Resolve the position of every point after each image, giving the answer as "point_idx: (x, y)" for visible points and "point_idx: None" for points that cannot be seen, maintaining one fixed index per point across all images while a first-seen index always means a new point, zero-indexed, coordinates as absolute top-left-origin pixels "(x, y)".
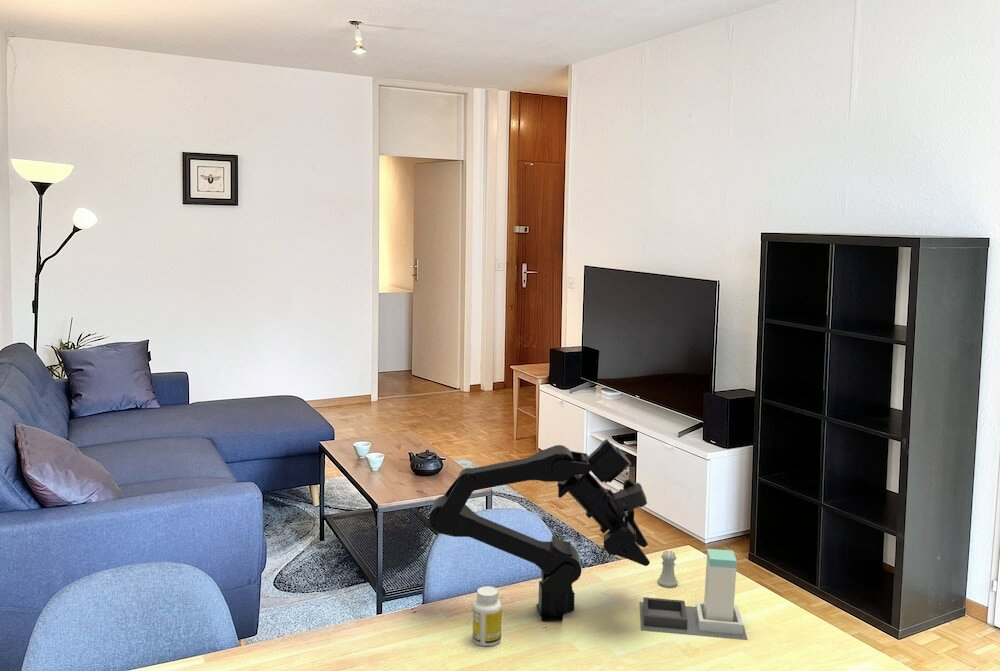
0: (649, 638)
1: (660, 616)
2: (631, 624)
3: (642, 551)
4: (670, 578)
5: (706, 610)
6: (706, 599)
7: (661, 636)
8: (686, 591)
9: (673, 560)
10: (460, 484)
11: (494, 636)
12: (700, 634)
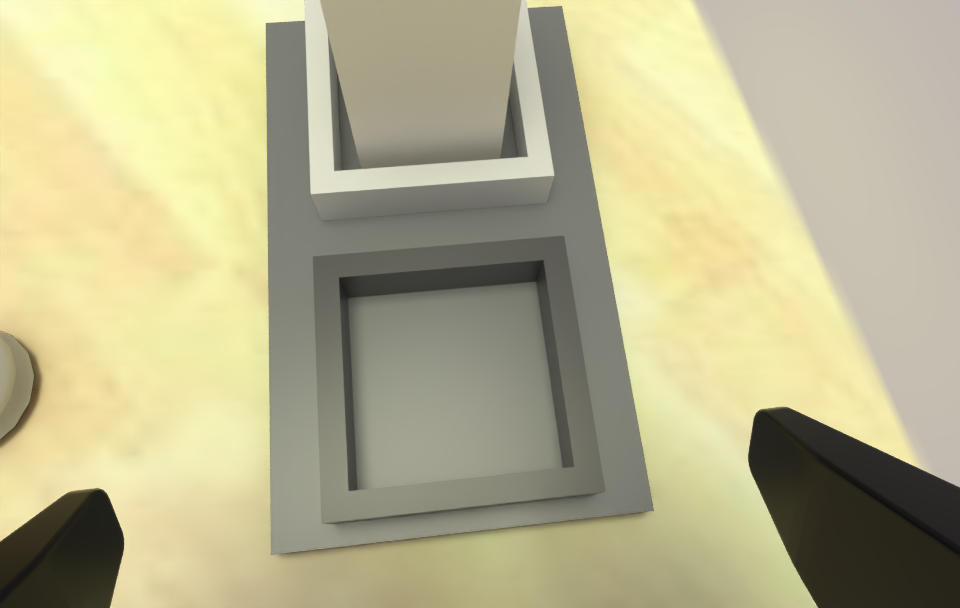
0: (661, 457)
1: (574, 389)
2: (532, 579)
3: (943, 511)
4: None
5: (483, 123)
6: (454, 91)
7: None
8: (16, 280)
9: None
10: None
11: None
12: (585, 195)
